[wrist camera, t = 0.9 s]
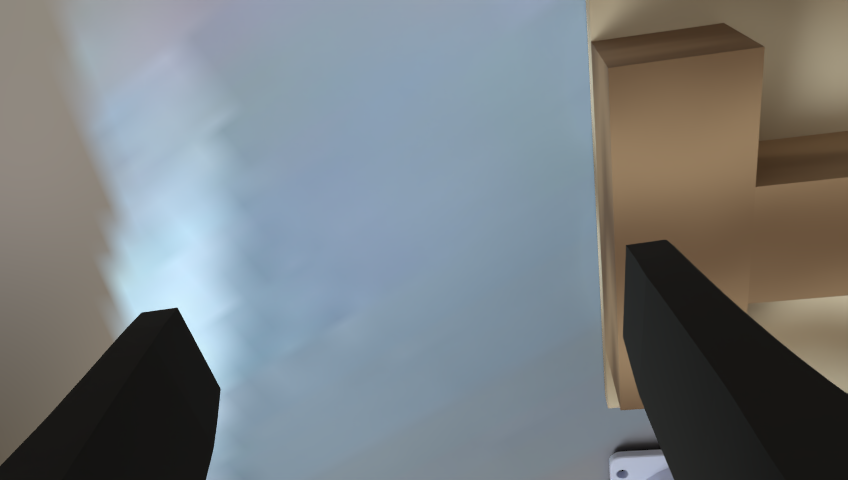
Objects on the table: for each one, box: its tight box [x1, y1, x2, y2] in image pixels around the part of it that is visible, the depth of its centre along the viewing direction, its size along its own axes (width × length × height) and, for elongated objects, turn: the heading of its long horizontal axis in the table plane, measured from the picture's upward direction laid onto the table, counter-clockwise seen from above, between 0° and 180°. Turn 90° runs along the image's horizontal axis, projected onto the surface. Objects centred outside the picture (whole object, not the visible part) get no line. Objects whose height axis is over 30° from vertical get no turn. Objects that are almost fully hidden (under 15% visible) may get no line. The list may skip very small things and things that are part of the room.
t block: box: [591, 23, 848, 410], centre depth 22 cm, size 12×11×4 cm
